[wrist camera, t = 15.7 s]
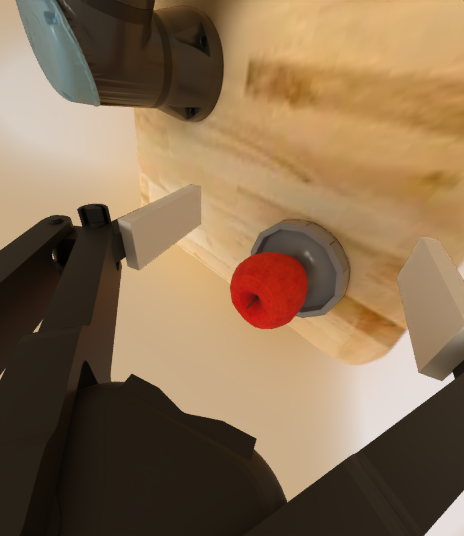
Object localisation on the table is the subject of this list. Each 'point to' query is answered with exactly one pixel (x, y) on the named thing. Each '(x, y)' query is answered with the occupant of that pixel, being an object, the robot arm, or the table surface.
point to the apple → (269, 289)
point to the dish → (310, 261)
